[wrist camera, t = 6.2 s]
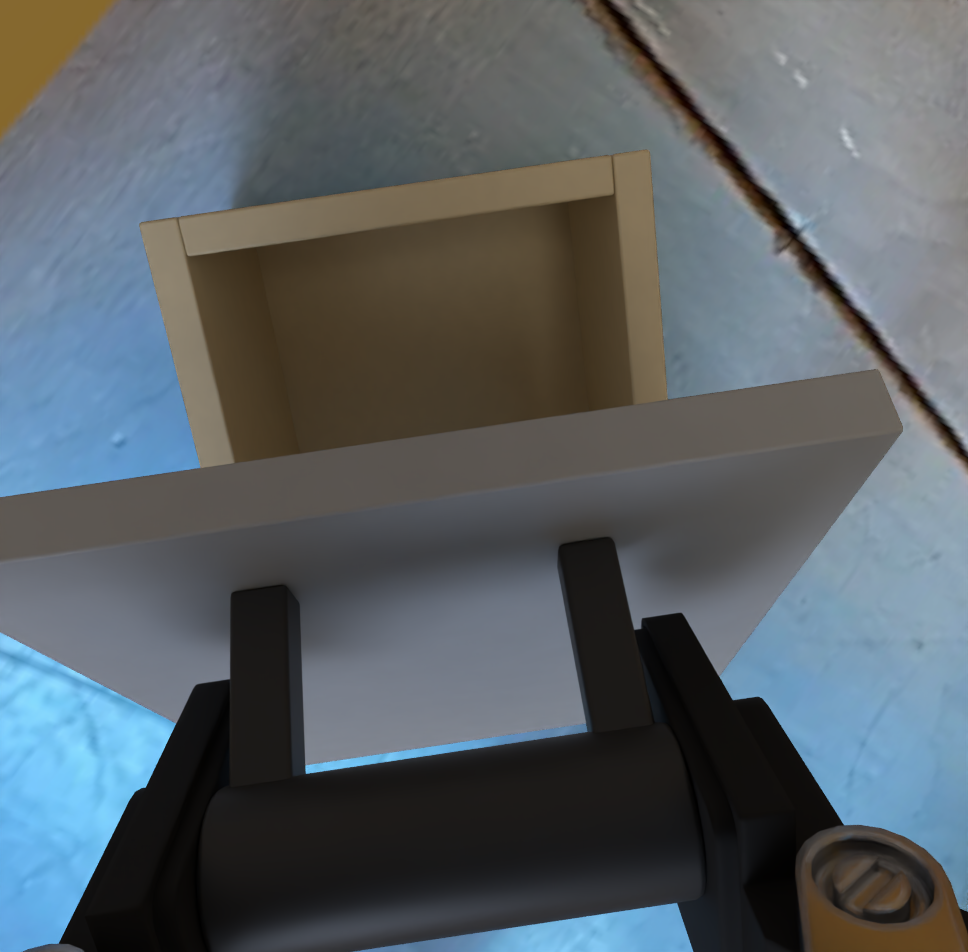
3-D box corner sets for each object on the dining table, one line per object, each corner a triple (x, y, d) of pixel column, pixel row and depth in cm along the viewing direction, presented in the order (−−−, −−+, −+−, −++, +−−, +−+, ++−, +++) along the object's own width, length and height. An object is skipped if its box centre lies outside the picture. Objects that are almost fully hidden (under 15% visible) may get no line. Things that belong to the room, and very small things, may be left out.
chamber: (227, 216, 25) (137, 222, 17) (587, 164, 25) (650, 148, 17) (312, 603, 29) (270, 743, 21) (623, 557, 29) (688, 680, 21)
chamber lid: (-94, 509, 9) (-200, 1037, 7) (879, 366, 9) (1081, 843, 7) (266, 737, 21) (268, 958, 19) (689, 675, 21) (741, 887, 19)
